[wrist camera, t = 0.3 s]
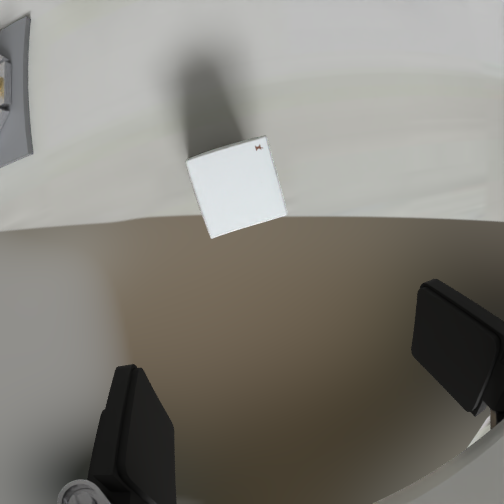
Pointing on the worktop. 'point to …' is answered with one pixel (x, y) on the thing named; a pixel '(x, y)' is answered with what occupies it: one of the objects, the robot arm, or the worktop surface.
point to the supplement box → (236, 186)
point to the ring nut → (5, 88)
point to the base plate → (16, 94)
